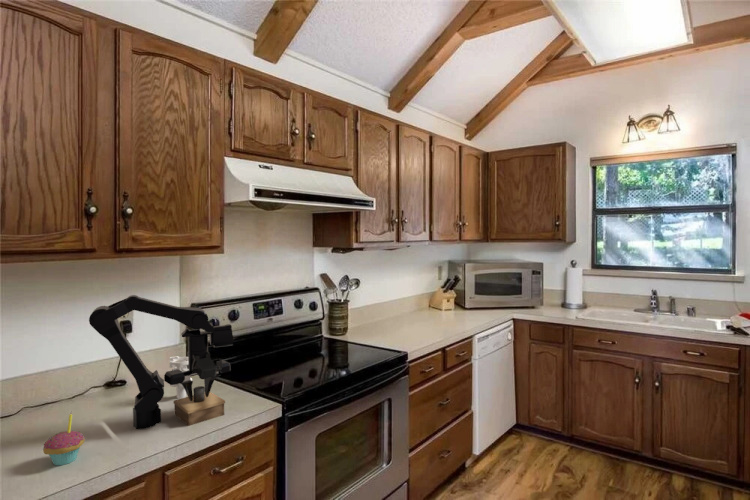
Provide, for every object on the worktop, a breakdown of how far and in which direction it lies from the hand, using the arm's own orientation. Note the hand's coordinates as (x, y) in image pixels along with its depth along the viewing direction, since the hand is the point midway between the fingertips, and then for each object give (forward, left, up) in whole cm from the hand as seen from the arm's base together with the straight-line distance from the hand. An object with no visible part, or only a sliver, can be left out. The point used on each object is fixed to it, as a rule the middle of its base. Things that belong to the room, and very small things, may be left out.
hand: (199, 398), depth 136 cm
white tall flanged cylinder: (+2, +19, -6) cm, 21 cm away
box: (0, 0, -6) cm, 6 cm away
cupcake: (-35, -2, -6) cm, 36 cm away
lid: (0, 0, -1) cm, 1 cm away
